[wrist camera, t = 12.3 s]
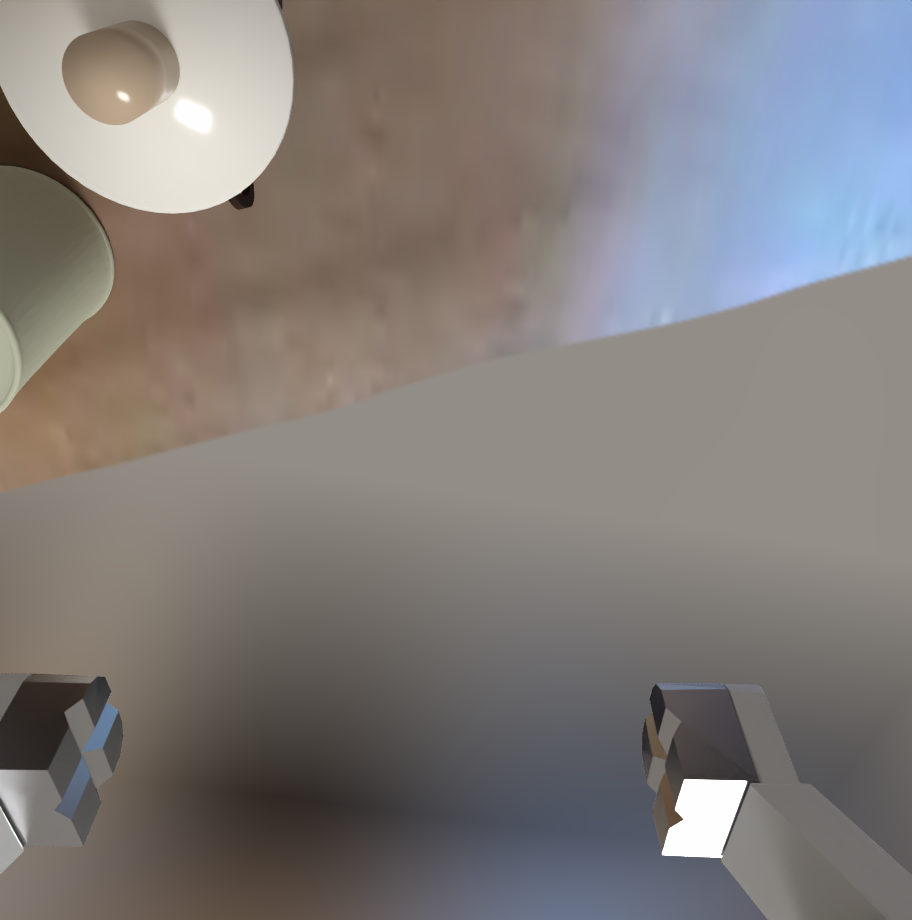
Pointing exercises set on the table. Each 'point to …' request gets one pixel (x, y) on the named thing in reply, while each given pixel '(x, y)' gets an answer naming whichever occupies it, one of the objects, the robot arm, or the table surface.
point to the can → (45, 272)
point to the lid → (151, 93)
